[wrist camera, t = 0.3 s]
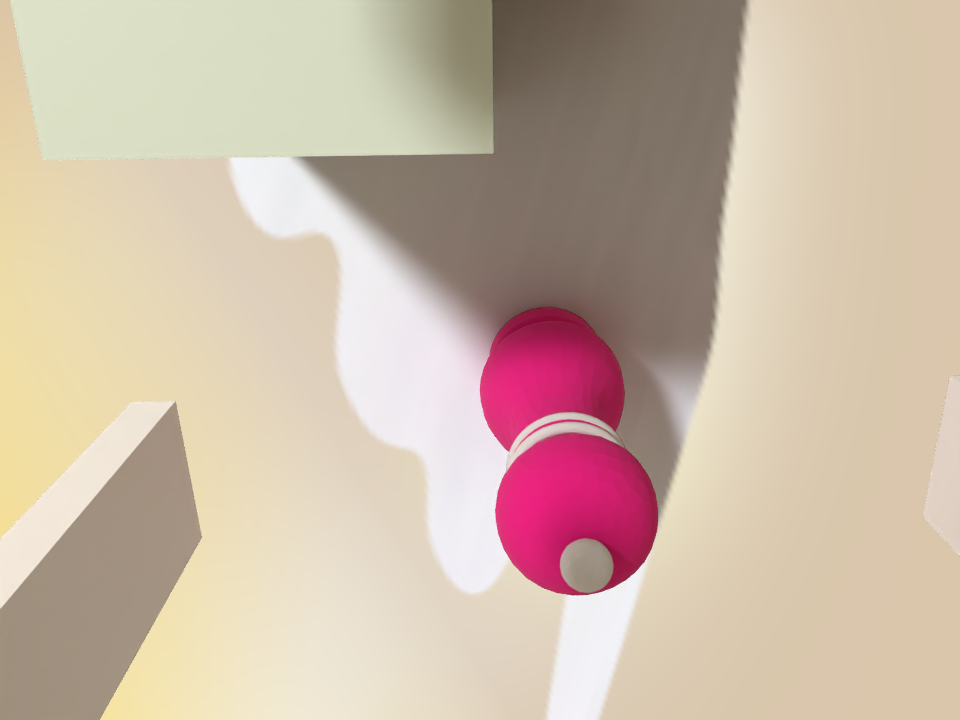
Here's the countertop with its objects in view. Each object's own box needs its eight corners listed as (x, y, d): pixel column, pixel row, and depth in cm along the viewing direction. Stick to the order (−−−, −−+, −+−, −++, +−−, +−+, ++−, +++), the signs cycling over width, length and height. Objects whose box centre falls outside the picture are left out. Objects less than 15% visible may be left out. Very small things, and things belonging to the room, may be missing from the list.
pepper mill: (594, 282, 44) (678, 459, 25) (623, 401, 46) (719, 643, 27) (464, 317, 44) (451, 515, 26) (499, 432, 47) (511, 689, 28)
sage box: (229, -45, 38) (-18, -135, 19) (487, -49, 38) (491, -144, 19) (246, 108, 40) (42, 160, 22) (488, 104, 40) (493, 153, 22)
